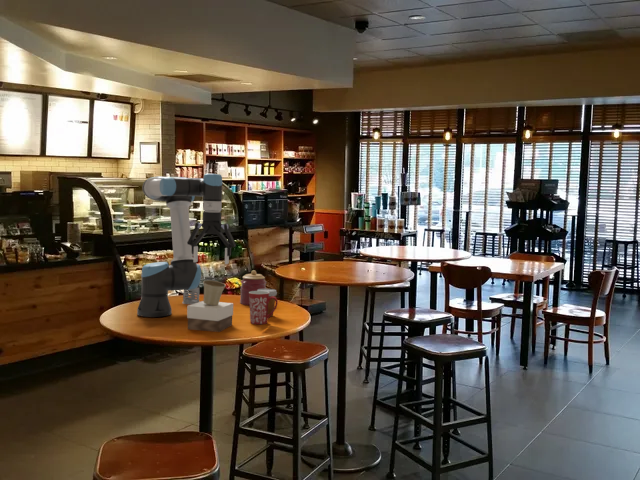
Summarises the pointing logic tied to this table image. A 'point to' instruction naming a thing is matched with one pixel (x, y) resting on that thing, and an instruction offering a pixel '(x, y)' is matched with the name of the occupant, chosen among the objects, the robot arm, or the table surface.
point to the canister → (251, 286)
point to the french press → (191, 299)
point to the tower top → (210, 311)
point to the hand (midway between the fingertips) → (211, 263)
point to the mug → (260, 306)
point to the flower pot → (212, 292)
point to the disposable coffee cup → (272, 301)
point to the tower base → (209, 324)
